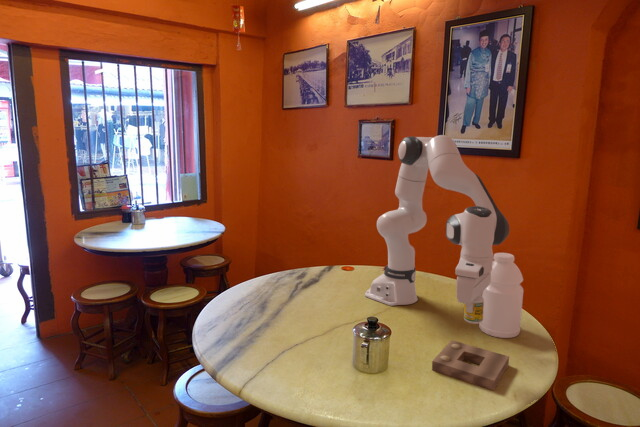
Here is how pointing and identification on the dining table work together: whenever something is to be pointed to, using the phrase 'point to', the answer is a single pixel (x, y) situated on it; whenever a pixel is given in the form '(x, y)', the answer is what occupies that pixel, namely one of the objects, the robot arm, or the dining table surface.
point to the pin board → (483, 375)
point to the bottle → (503, 298)
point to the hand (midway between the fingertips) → (473, 307)
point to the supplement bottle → (475, 311)
